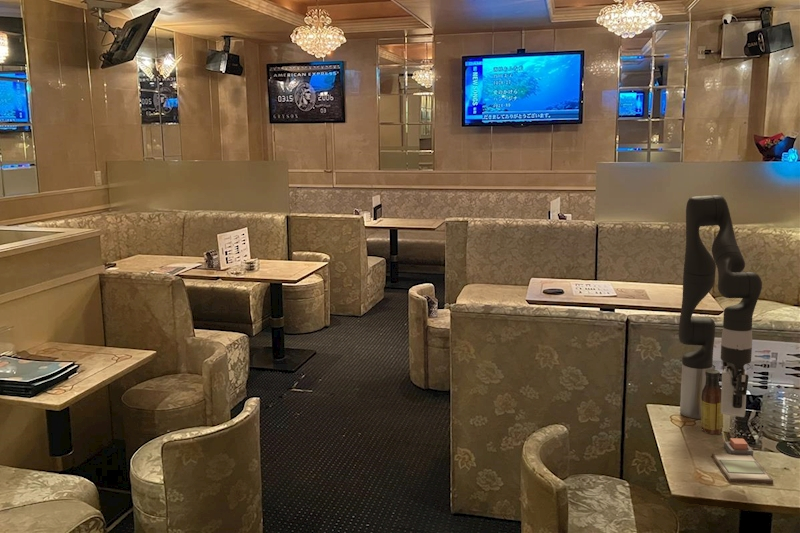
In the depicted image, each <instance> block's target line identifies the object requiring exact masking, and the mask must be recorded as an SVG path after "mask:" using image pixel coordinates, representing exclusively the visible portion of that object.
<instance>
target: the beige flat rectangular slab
mask: <svg viewBox="0 0 800 533" xmlns="http://www.w3.org/2000/svg"><path fill="white" fill-rule="evenodd" d="M710 458H711V459H712V460H713V462H714V464H716V466H717V467H718V469H719V470H720V471H721V473H722V474H723V476H724V477H725V478H726V481H728V483H739V484H740V483H741V484H742V483H743V484H747V483H748V484H766V485H768V484H770V485H774V479H773V478H772V477H771V476H770V475H769V474H768V472H767V471H766V470H765V468H763V466H762V465H761V464H760V463H759V461H758V460H757V459H756V458H755V457H754V455H753V456H752V455H735V454H728V453H727V454H726V453H711V456H710Z"/></svg>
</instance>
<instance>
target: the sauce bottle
mask: <svg viewBox="0 0 800 533" xmlns="http://www.w3.org/2000/svg"><path fill="white" fill-rule="evenodd" d="M705 375H706V384H705V387H704V389H703V391H702V397H701V419H700V426H701V430H702V432H705V433H706V434H710V435H719V434H722V433H723V427H724V414H721V389H722V386H720V375H721V371H720V370H718V369H713V368H712V369H708V370H706V372H705Z"/></svg>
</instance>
